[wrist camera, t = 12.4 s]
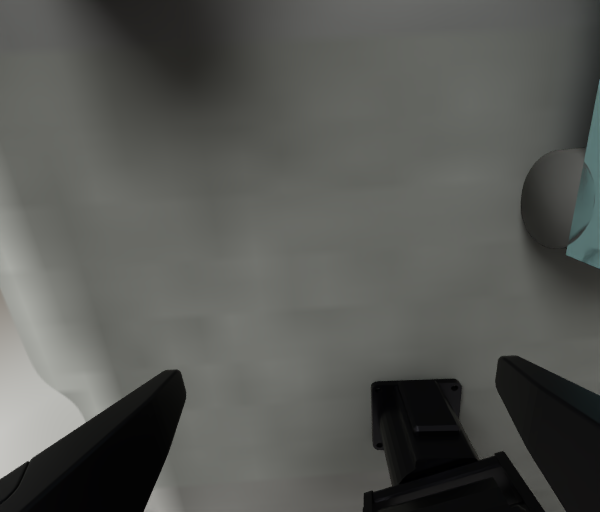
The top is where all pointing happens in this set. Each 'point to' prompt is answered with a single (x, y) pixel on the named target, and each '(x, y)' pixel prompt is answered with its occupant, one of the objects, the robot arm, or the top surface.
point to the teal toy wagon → (567, 198)
